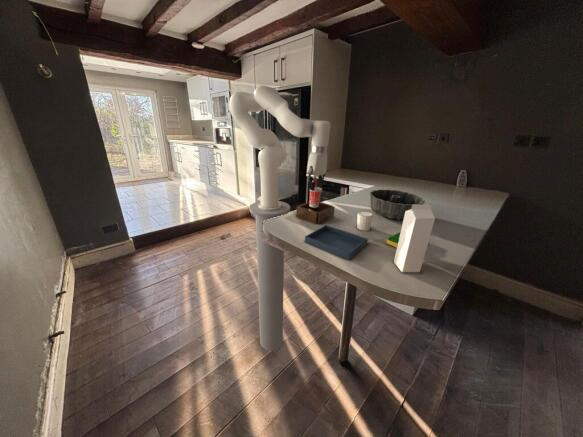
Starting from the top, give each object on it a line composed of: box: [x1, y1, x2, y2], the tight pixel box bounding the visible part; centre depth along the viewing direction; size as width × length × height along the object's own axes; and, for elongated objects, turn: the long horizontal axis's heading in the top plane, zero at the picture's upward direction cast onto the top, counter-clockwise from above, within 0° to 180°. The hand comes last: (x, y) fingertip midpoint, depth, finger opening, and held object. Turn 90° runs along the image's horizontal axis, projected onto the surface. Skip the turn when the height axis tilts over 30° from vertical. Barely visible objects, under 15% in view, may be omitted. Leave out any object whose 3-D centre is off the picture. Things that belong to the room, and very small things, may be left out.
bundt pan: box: [369, 189, 426, 221], centre depth 121 cm, size 26×26×10 cm
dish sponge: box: [386, 231, 401, 249], centre depth 93 cm, size 7×14×2 cm, turn 128°
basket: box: [295, 200, 336, 225], centre depth 116 cm, size 14×14×6 cm
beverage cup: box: [309, 177, 323, 208], centre depth 112 cm, size 6×6×14 cm
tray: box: [304, 224, 369, 261], centre depth 91 cm, size 19×15×2 cm
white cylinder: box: [356, 210, 375, 232], centre depth 104 cm, size 7×7×7 cm
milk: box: [393, 204, 436, 273], centre depth 73 cm, size 6×6×22 cm
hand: (315, 188), depth 111 cm, fingers closed on beverage cup, 6 cm apart
